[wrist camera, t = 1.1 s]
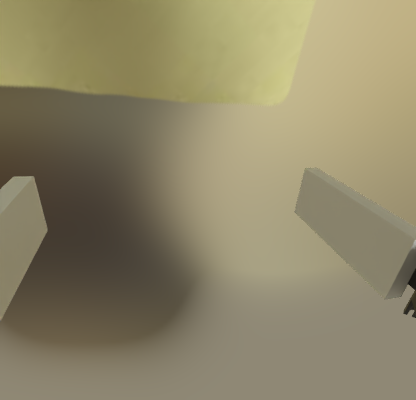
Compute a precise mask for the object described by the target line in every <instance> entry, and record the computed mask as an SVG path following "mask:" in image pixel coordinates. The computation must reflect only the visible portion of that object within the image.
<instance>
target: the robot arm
mask: <svg viewBox="0 0 416 400" xmlns="http://www.w3.org/2000/svg"><path fill="white" fill-rule="evenodd" d="M295 213H296V214H297V215H298V216H299V217H300V218H301V219H302V220H303V221H304V222H305V223H306V224H307V225H308V226H309V227H310V228H311V229H312V230H313V231H315V233H317V234H318V235H319V236H320V237H321V238H322V239H323V240H324V241H325V242H326V243H327V244H328V245H329V246H330V247H331V248H332V249H333V250H334V251H335V252H336V253H337V254H338V255H339V256H340V257H341V258H342V259H343V260H345V262H346V263H348V264H349V265H350V266H351V267H352V268H353V269H354V270H355V271H356V272H357V273H358V274H359V275H360V276H361V277H362V278H363V279H364V280H365V281H366V282H367V283H368V284H369V285H370V286H371V287H372V288H373V289H374V290H375V291H376V292H377V293H379V294H380V295H381V296H382V297H383V298H384V299H391V298H397V297H401V296H402V294H403V292H404V291H405V289H406V287H407V285H408V284H409V285H410V286H411V287H412V288H413V289H414V290H415V291H414V293H413V295H412V297H411V298H410V300H409V302H408V304H407V306H406V307H405V309H404V314H406V315H407V314H408V312H409V311H410V310H414V311H415V312H414V313H413V315H412V317H415V318H416V227H415V226H413V225H411V224H410V223H408V222H407V221H405V220H403V219H402V218H400V217H398V216H397V215H395V214H393V213H392V212H390V211H388V210H387V209H385V208H383V207H382V206H380V205H378V204H377V203H375V202H373V201H372V200H370V199H368V198H367V197H365V196H363V195H361V194H360V193H358V192H357V191H355V190H353V189H352V188H350V187H348V186H347V185H345V184H343V183H342V182H340V181H338V180H336V179H335V178H333V177H332V176H330V175H328V174H327V173H325V172H323V171H322V170H320V169H318V168H305V170H304V175H303V179H302V183H301V187H300V191H299V195H298V199H297V204H296V208H295ZM46 232H47V226H46V222H45V218H44V215H43V211H42V207H41V202H40V199H39V195H38V191H37V187H36V183H35V179H34V176H28V177H13V178H12V179H11V180H10V181H8V182H7V183H6V184H5V185H4V186H3V187H2V188H1V189H0V321H1V319H2V317H3V315H4V313H5V311H6V309H7V307H8V305H9V303H10V302H11V299H12V298H13V296H14V294H15V292H16V290H17V288H18V286H19V284H20V282H21V280H22V278H23V276H24V275H25V273H26V271H27V269H28V267H29V265H30V263H31V261H32V259H33V257H34V255H35V253H36V252H37V250H38V248H39V246H40V244H41V242H42V240H43V238H44V236H45V234H46Z"/></svg>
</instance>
